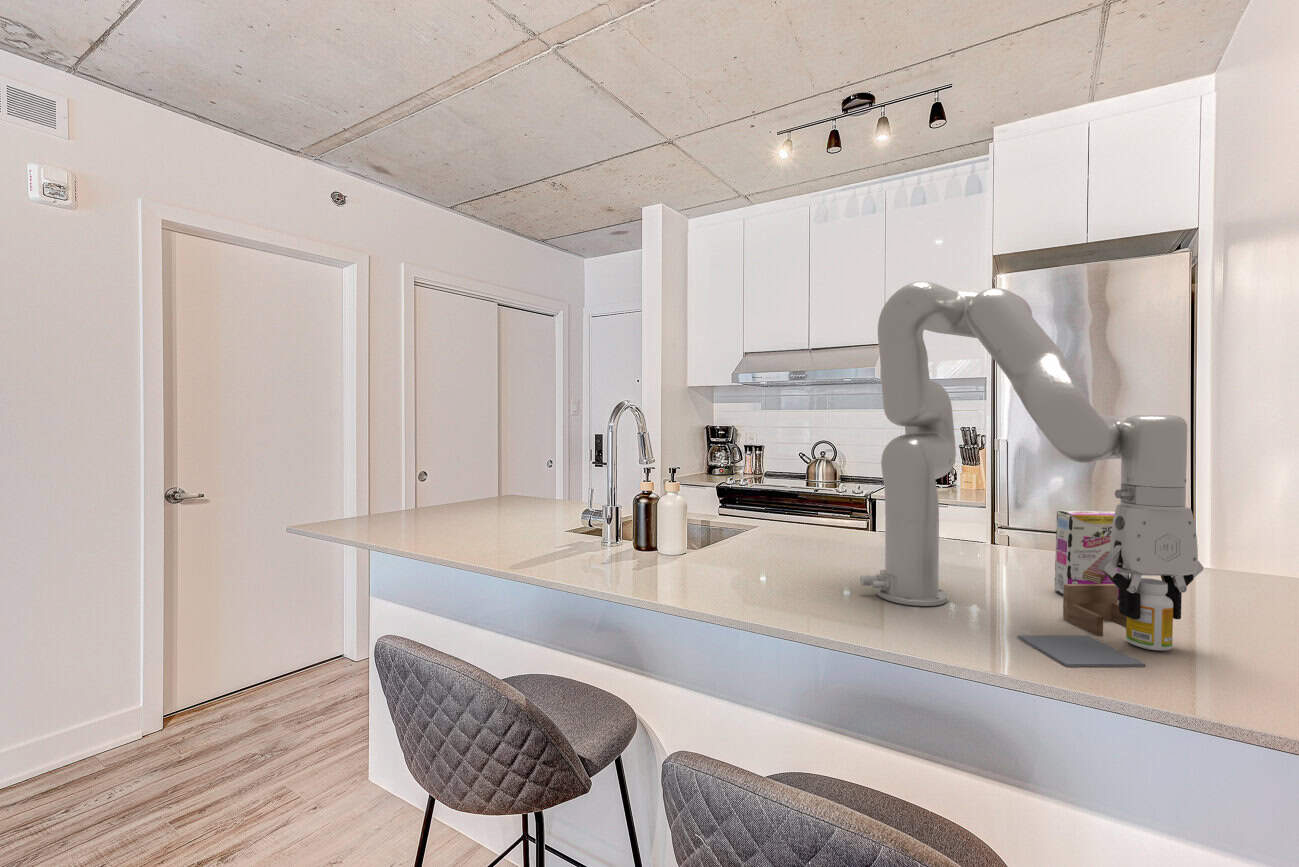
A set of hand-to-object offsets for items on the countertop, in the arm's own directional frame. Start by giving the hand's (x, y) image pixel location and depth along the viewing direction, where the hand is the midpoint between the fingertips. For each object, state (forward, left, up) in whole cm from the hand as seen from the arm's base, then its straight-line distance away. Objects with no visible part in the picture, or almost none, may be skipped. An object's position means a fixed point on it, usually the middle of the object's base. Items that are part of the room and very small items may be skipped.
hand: (1149, 615), depth 91 cm
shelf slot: (0, +8, -5) cm, 10 cm away
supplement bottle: (0, 0, -5) cm, 5 cm away
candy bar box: (+10, +25, -5) cm, 28 cm away
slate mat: (-12, -2, -5) cm, 13 cm away
